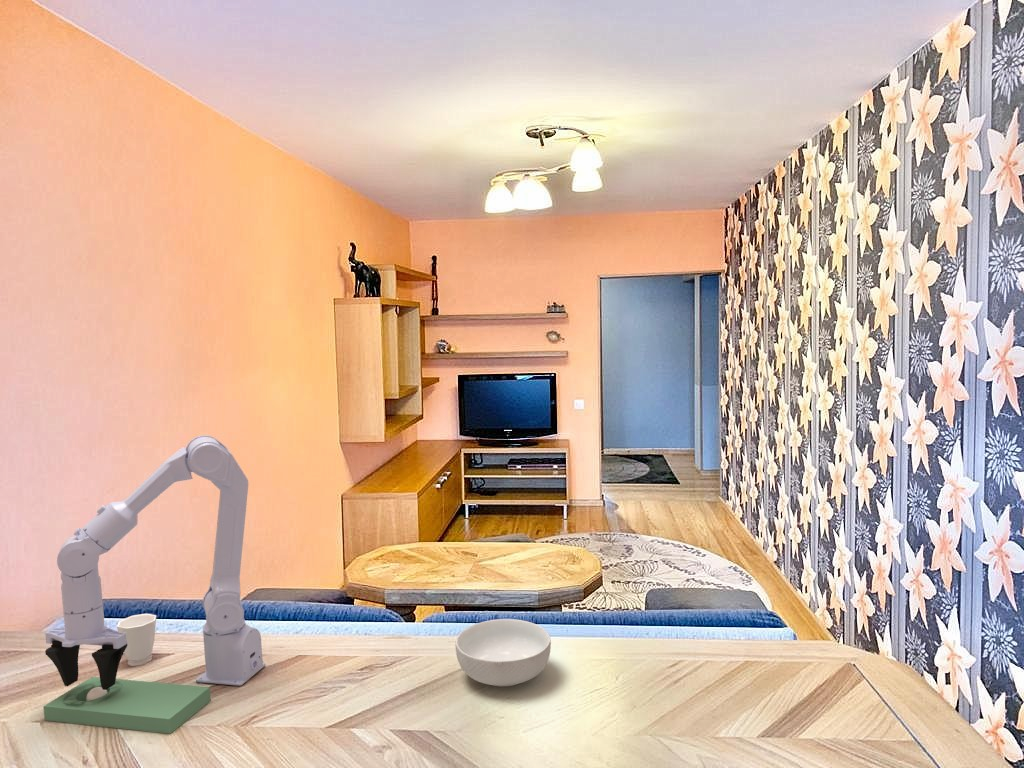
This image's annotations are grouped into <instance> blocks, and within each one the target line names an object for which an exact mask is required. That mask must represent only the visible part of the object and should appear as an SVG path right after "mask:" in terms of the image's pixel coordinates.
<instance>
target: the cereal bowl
mask: <svg viewBox="0 0 1024 768" xmlns="http://www.w3.org/2000/svg"><path fill="white" fill-rule="evenodd" d="M551 644H552V642H551V636H550V634H549V632H548V631H547V630H546V629H545V628H544V627H542V626H540V625H538V624H536V623H534V622H530V621H527V620H522V619H514V618H500V619H499V618H497V619H490V620H486V621H482V622H480V621H479V622H478V623H475V624H472V625H469V626H468V627H466V628H465V629H463V630H462V631H460V633H459V634H458V635H457V636H456V639H455V645H454V646H455V653H456V658H457V661H458V664H459V666H460V668H461V669H462V671H463V672H464V673H465V674H466V675H467V676H469V678H470V679H472V680H474V681H475V682H479V683H482V684H485V685H488V686H490V685H491V686H493V687H500V688H505V687H512V686H516V685H519V684H523V683H525V682H527V681H530V680H532V679H534V678H535V677H537V676H538V675H539V674H540V673H541V672H542V671H543V669H544V668H545V667H546V665H547V663H548V661H549V658H550V654H551Z"/></svg>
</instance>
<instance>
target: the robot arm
mask: <svg viewBox="0 0 1024 768" xmlns="http://www.w3.org/2000/svg"><path fill="white" fill-rule="evenodd" d="M192 473H194V474H195V475H196V476H199V477H201V478H203V479H206V480H208V481H210V483H212V484H213V485H214V486H215V487H216V488H217V489H218V490H220V491H219V501H218V510H217V520H216V521H217V522H216V533H215V542H214V553H213V562H212V565H213V566H212V574H211V576H210V579H209V587H208V589H207V591H206V592H205V593H204V596H203V598H202V607H203V611H204V612H205V620H206V622H205V623H204V625H203V627H202V633H203V635H202V637H203V647H204V660H205V661H204V662H205V671H204V672H203V673H201V674H200V675H199V676H197V677H195V682H196V683H204V684H217V685H228V686H242V685H244V684H245V683H247V681H249V680H250V679H251V678H252V677H254V676H255V674H257V673H258V672H259V671H260V670H262V669H263V668H264V667H266V663H265V662H263V661H264V660H263V649H262V637H261V635H262V634H261V632H260V631H259V630H258V629H257V628H255V627H251V626H249V625H248V624H247V623H246V619H245V618H244V616H245V609H244V608H243V607H244V606H243V604H242V603H241V582H240V581H241V565H242V555H243V545H244V533H245V524H246V514H247V513H246V512H247V504H248V502H247V501H248V494H249V493H248V491H249V479H248V478H247V476H246V474H245V473H244V472H243V470H242V468H241V466H240V464H239V463H238V462H237V460H236V459H235V456H234V455H233V454H232V452H231V451H230V450H229V448H227V446H226V445H224V444H223V443H222V442H220V441H219V440H218V439H217V438H216V437H213V436H210V435H199V436H196V437H194V438H192V440H190V441H189V443H188V444H187V446H186V447H185V446H183V447H181V448H180V449H178V450H177V451H175V452H174V453H173V454H171V456H169V457H168V458H167V459H166V460H164V462H163V463H162V464H161V465H160V466H158V468H157V469H155V470H154V471H153V472H152V473H151V474H150V475H149V476H148V477H147V478H146V479H145V480H144V481H143V482H142V483H141V484H140V485H139V486H138V487H137V488H136V489H135V490H133V492H132V493H131V494H129V496H127V498H126V499H124V500H121V501H110V503H108V504H107V505H106V506H105V505H104V504H101V506H100V507H98V508H97V509H96V513H97V515H95V516H94V517H93V518H92V519H90V521H88V522H87V523H86V524H85V525H84V526H83V527H82V528H80V527H77V529H75V530H74V531H73V536H71V537H69V538H68V539H66V540H65V541H64V542H63V543H62V545H61V547H60V549H59V553H58V554H57V558H56V559H57V560H56V563H57V564H56V565H57V567H58V569H59V571H61V573H60V580H61V585H60V589H61V590H60V591H61V599H62V601H61V602H62V613H63V621H64V622H63V623H64V627H54V628H52V629H50V630H48V631H46V632H45V633H44V635H45V644H49V645H50V644H51V645H50V647H48V648H46V649H45V655H46V656H47V657H48V658H49V659H50V660H51V662H52V663H53V664H54V666H55V667H56V669H57V671H58V673H59V675H60V678H61V681H62V683H63V685H64V687H69V686H71V685H73V684H74V683H76V682H77V681H78V680H79V653H80V647H81V646H82V645H87V646H101V648H99V649H97V650H96V651H94V652H92V653H91V657H92V659H93V660H94V662H95V665H96V666H97V670H98V673H99V675H98V676H99V677H100V682H101V686H102V689H103V690H107V689H108V688H110V687H111V686H113V685H115V681H116V679H117V675H118V671H119V666H120V663H121V660H122V658H123V655H124V651H125V649H126V647H127V637H126V633H122V632H118V630H115V629H112V628H109V627H107V626H106V625H105V614H104V603H103V592H102V591H103V590H102V579H101V576H100V575H99V559H100V556H101V555H103V554H106V553H108V552H110V550H111V549H113V548H114V547H115V546H116V545H117V544H118V543H119V542H120V541H121V540H122V539H124V537H125V536H127V535H128V534H129V533H130V532H131V531H132V530H133V529H134V528H135V527H136V526H138V514H139V513H140V512H142V511H143V510H144V509H145V508H146V507H148V506H149V505H150V504H152V502H153V501H154V500H156V499H157V498H158V497H160V495H161V494H163V493H164V492H165V491H166V490H168V488H170V487H171V486H172V485H173V484H175V483H177V482H184V481H189V480H192V479H193V475H192Z"/></svg>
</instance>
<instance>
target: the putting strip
mask: <svg viewBox="0 0 1024 768" xmlns="http://www.w3.org/2000/svg"><path fill="white" fill-rule="evenodd" d="M95 687H102V686H101V682H100V676H90V677H89V678H87V679H85V680H84V681H83V682H81V683H79V684H78V685H76V686H74V687H73V688H71V689H69V690H68V691H66V692H64V693H63V694H62V695H59V696H58V697H57V698H55V699H53V700H51V701H50V702H48V703H47V704H45V705H44V706H43V716H44V717H43V718H44V721H48V722H56V723H67V724H76V725H84V726H85V725H87V726H95V727H103V728H105V727H106V728H114V729H123V730H124V729H125V730H132V731H141V732H150V733H158V734H159V733H160V734H170V735H171V734H172V733H173V732H174V731H176V730H177V729H178V728H179V727H180V726H182V725H183V724H184V723H186V722H187V721H188V720H189V719H190V718H191V717H193V716H194V715H195V714H197V712H199V711H200V710H201V709H202V708H204V707H205V706H207V704H209V703H210V702H211V700H212V699H211V696H212V695H211V687H210V686H202V685H191V684H179V683H167V682H166V683H165V682H159V681H158V682H155V681H146V680H133V679H121V678H116V681H115V685H113V686H111V687H110V688H108V689H107V692H108V693H107V694H105V695H104V696H102V697H100V698H97V699H94V700H89V701H86V697H87V694H88V692H89V691H90V690H91V689H93V688H95Z"/></svg>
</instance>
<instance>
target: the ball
mask: <svg viewBox="0 0 1024 768" xmlns="http://www.w3.org/2000/svg"><path fill="white" fill-rule="evenodd" d="M107 693H108V692H107V690H103V689H102V687H95V688H93V689H91V690H90V691H89V692H88V694H87V697H86V701H89V700H94V699H97V698H100V697H102V696H104V695H105V694H107Z"/></svg>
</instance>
